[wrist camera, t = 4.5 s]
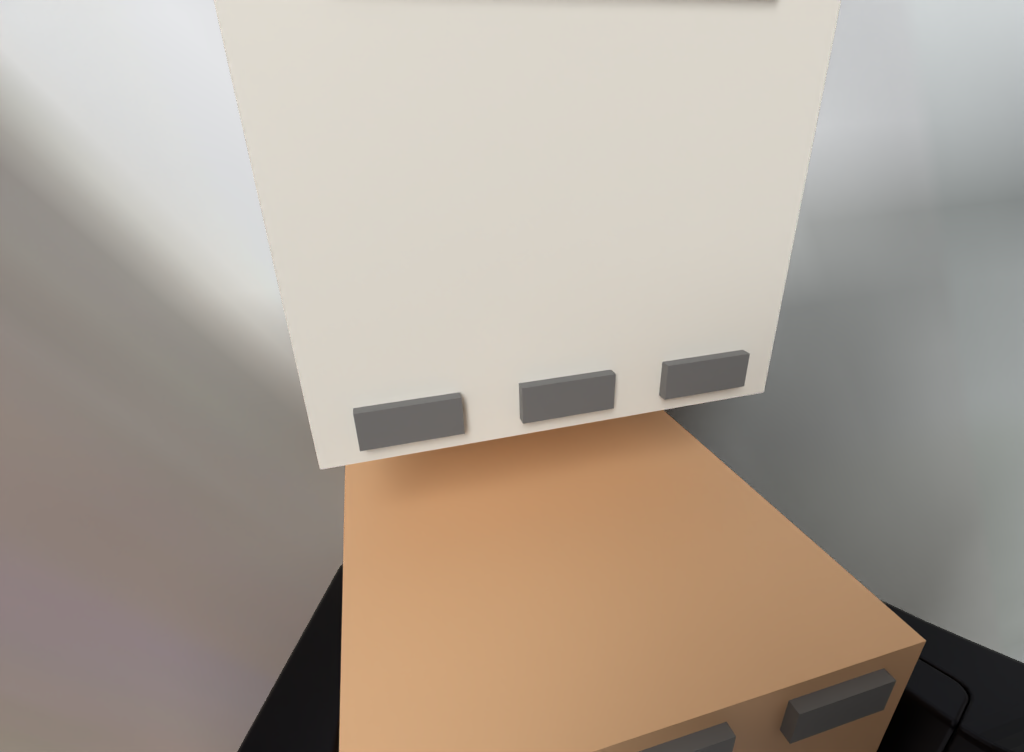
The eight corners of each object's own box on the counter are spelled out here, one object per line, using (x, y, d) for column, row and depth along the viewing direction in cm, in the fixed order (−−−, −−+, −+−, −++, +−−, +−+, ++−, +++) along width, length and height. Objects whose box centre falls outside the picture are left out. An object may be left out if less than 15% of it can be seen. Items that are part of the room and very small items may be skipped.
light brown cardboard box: (619, 371, 10) (939, 651, 4) (607, 569, 12) (813, 917, 7) (346, 413, 9) (337, 857, 3) (386, 623, 11) (419, 1100, 5)
